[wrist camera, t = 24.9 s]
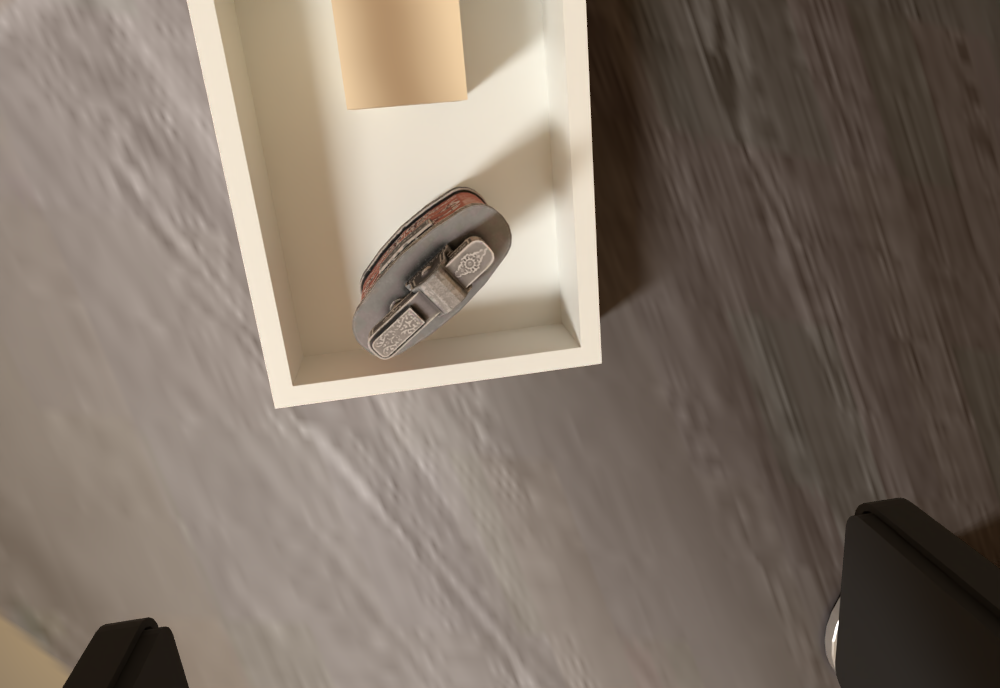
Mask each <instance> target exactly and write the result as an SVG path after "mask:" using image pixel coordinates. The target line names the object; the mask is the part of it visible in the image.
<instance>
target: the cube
mask: <svg viewBox="0 0 1000 688" xmlns="http://www.w3.org/2000/svg"><path fill="white" fill-rule="evenodd" d="M331 3H332V9H333V16H334V23H335V30H336V37H337V44H338V51H339V58H340V64H341V71H342V78H343V85H344V92H345V99H346V106H347V110H360V109H372V108H384V107H396V106H408V105H420V104H432V103H443V102H455V101H462V100H468V97H467V86H466V74H465V63H464V52H463V41H462V30H461V19H460V8H459V0H331Z"/></svg>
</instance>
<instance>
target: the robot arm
mask: <svg viewBox="0 0 1000 688" xmlns="http://www.w3.org/2000/svg"><path fill="white" fill-rule="evenodd" d="M825 648H826V654H827V657H828V660H829V663H830V665H831V666H832V668H833V669H834V671H835V672H836V675H837V679H838V681H839V684H840V686H841V688H1000V569H999V568H998V567H997V566H995V565H994V564H993V563H991V562H990V561H989V560H987V559H986V558H985V557H983V556H982V555H981V554H979V553H978V552H977V551H975V550H974V549H973V548H971V547H970V546H969V545H967V544H966V543H965V542H963V541H962V540H961V539H959V538H958V537H957V536H955V535H954V534H953V533H951V532H950V531H949V530H947V529H946V528H945V527H943V526H942V525H941V524H939V523H938V522H937V521H935V520H934V519H933V518H931V517H930V516H929V515H927V514H926V513H925V512H923V511H922V510H921V509H919V508H918V507H917V506H915V505H914V504H913V503H911V502H910V501H908V500H906V499H904V498H894V499H888V500H881V501H875V502H869V503H863V504H861V505H859V506H858V508H857V509H856V512H855V515H854V516H851V517H849V519H848V520H847V524H846V533H845V545H844V558H843V570H842V582H841V595H840V598H839V600H838V601H837V603H836V605H835V607H834V609H833V610H832V612H831V615H830V618H829V621H828V624H827V627H826V635H825ZM63 688H189V686H188V683H187V680H186V676H185V673H184V670H183V666H182V663H181V660H180V656H179V653H178V650H177V646H176V643H175V640H174V636H173V634H172V631H171V630H170V629H169V627H158V625H157V623H156V622H155V620H154V619H153V618H149V617H148V618H142V619H136V620H129V621H123V622H117V623H110V624H105V625H103V626H101V627H100V628H99V629H98V630H97V632H96V633H95V635H94V636H93V638H92V640H91V641H90V643H89V645H88V646H87V648H86V649H85V651H84V653H83V654H82V656H81V658H80V659H79V661H78V663H77V664H76V666H75V668H74V669H73V671H72V673H71V674H70V676H69V678H68V679H67V681H66V683H65V684H64V686H63Z"/></svg>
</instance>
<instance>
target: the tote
mask: <svg viewBox="0 0 1000 688" xmlns="http://www.w3.org/2000/svg"><path fill="white" fill-rule="evenodd" d="M187 4H188V8H189V13H190V18H191V22H192V27H193V31H194V36H195V41H196V45H197V50H198V55H199V59H200V64H201V68H202V73H203V78H204V82H205V87H206V91H207V96H208V101H209V105H210V110H211V115H212V119H213V124H214V128H215V133H216V138H217V142H218V147H219V151H220V156H221V161H222V165H223V170H224V175H225V179H226V184H227V188H228V193H229V198H230V202H231V207H232V211H233V216H234V221H235V225H236V230H237V235H238V239H239V244H240V248H241V253H242V258H243V262H244V267H245V272H246V276H247V281H248V285H249V290H250V295H251V299H252V304H253V308H254V313H255V318H256V322H257V327H258V332H259V336H260V341H261V345H262V350H263V355H264V359H265V364H266V368H267V373H268V378H269V382H270V387H271V392H272V396H273V401H274V405H275V409H276V408H284V407H291V406H298V405H305V404H312V403H320V402H327V401H334V400H341V399H348V398H356V397H363V396H370V395H377V394H385V393H392V392H399V391H406V390H413V389H421V388H428V387H435V386H442V385H449V384H457V383H464V382H471V381H478V380H486V379H493V378H500V377H507V376H514V375H522V374H529V373H536V372H543V371H550V370H558V369H565V368H572V367H579V366H587V365H594V364H601V363H602V361H601V338H600V315H599V292H598V269H597V246H596V223H595V200H594V177H593V154H592V131H591V108H590V85H589V62H588V39H587V16H586V0H459V8H460V19H461V30H462V41H463V52H464V63H465V74H466V86H467V97H468V100H462V101H455V102H443V103H432V104H420V105H408V106H396V107H384V108H372V109H360V110H347V106H346V99H345V92H344V85H343V78H342V71H341V64H340V58H339V51H338V44H337V37H336V30H335V23H334V16H333V9H332V3H331V0H187ZM455 187H468V188H471V189H473V190H475V191H476V192H478V193H479V194H480V195H481V196H482V197H483V198H484V199H485V201H486V202H487V204H488V205H489V206H491V207H493V208H494V209H495V210H497V211H498V212H499V213H500V214H501V215H502V216H503V217H504V218H505V220H506V221H507V223H508V224H509V227H510V230H511V234H512V242H511V247H510V250H509V252H508V254H507V255H506V257H505V258H504V259H503V261H502V262H501V264H500V265H499V266H498V268H497V269H496V270H495V272H494V273H493V274H492V276H491V277H490V278H489V280H488V281H487V282H486V284H485V285H484V286H483V287H482V288H481V289H480V290H479V291H478V292H477V293H476V294H475V295H474V297H473V298H472V299H471V300H470V301H469V302H468V303H467V304H466V305H465V306H464V307H463V308H462V309H461V310H460V311H459V312H458V313H457V314H456V315H454V316H453V317H452V318H451V319H450V320H448V321H447V322H446V323H445V324H443V325H442V326H441V327H440V328H438V329H437V330H436V331H435V332H433V333H432V334H431V335H429V336H428V337H426V338H425V339H423V340H422V341H420V342H418V343H417V344H415V345H414V346H412V347H410V348H409V349H407V350H406V351H404V352H403V353H401V354H399V355H396V356H394V357H391V358H390V359H386V360H383V359H380V358H378V357H377V356H376V355H372V354H371V353H369V352H368V351H366V350H365V349H363V348H362V347H361V345H360V344H359V343H358V342H357V340H356V338H355V336H354V333H353V330H352V320H353V315H354V313H355V311H356V308H357V307H358V305H359V304H360V302H361V294H360V280H361V277H362V275H363V273H364V271H365V270H366V268H367V267H368V266H369V264H370V263H371V261H372V260H373V258H374V257H375V255H376V254H377V253H378V251H379V250H380V248H381V247H382V246H383V245H384V244H385V243H386V242H387V241H388V240H389V238H390V237H391V236H392V235H393V234H394V233H395V232H396V231H397V230H398V229H399V227H400V226H401V225H402V224H404V223H405V222H406V221H407V220H409V219H410V218H411V217H412V216H413V215H415V214H416V213H417V212H418V211H419V210H421V209H422V208H423V207H424V206H425V205H427V204H429V203H430V202H432V201H433V200H435V199H436V198H438V197H439V196H441V195H443V194H444V193H446V192H447V191H449V190H450V189H453V188H455Z"/></svg>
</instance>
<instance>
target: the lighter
mask: <svg viewBox="0 0 1000 688" xmlns="http://www.w3.org/2000/svg"><path fill="white" fill-rule="evenodd" d="M511 242H512V234H511V230H510V227H509V224H508V223H507V221H506V220H505V218H504V217H503V216H502V215H501V214H500V213H499V212H498V211H497V210H495V209H494V208H493V207H491V206H489V205H488V204H487V202H486V201H485V199H484V198H483V197H482V196H481V195H480V194H479V193H478V192H476V191H475V190H473V189H471V188H468V187H455V188H453V189H450V190H449V191H447V192H446V193H444V194H443V195H441V196H439V197H438V198H436V199H435V200H433V201H432V202H430V203H429V204H427V205H425V206H424V207H423V208H422V209H421V210H419V211H418V212H417V213H416V214H415V215H413V216H412V217H411V218H410V219H409V220H407V221H406V222H405V223H404V224H402V225H401V226H400V227H399V229H398V230H397V231H396V232H395V233H394V234H393V235H392V236H391V237H390V238H389V240H388V241H387V242H386V243H385V244H384V245H383V246H382V247H381V248H380V250H379V251H378V253H377V254H376V255H375V257H374V258H373V260H372V261H371V263H370V264H369V266H368V267H367V268H366V270H365V271H364V273H363V275H362V277H361V280H360V294H361V302H360V304H359V305H358V307H357V308H356V311H355V313H354V315H353V320H352V330H353V333H354V336H355V338H356V340H357V342H358V343H359V344H360V345H361V347H362V348H363V349H365V350H366V351H368V352H369V353H371V354H372V355H376V356H377V357H378V358H380V359H383V360H386V359H390V358H391V357H394V356H396V355H399V354H401V353H403V352H404V351H406V350H407V349H409V348H410V347H412V346H414V345H415V344H417V343H418V342H420V341H422V340H423V339H425V338H426V337H428V336H429V335H431V334H432V333H433V332H435V331H436V330H437V329H438V328H440V327H441V326H442V325H443V324H445V323H446V322H447V321H448V320H450V319H451V318H452V317H453V316H454V315H456V314H457V313H458V312H459V311H460V310H461V309H462V308H463V307H464V306H465V305H466V304H467V303H468V302H469V301H470V300H471V299H472V298H473V297H474V295H475V294H476V293H477V292H478V291H479V290H480V289H481V288H482V287H483V286H484V285H485V284H486V282H487V281H488V280H489V278H490V277H491V276H492V274H493V273H494V272H495V270H496V269H497V268H498V266H499V265H500V264H501V262H502V261H503V259H504V258H505V257H506V255H507V254H508V252H509V250H510V247H511Z"/></svg>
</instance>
